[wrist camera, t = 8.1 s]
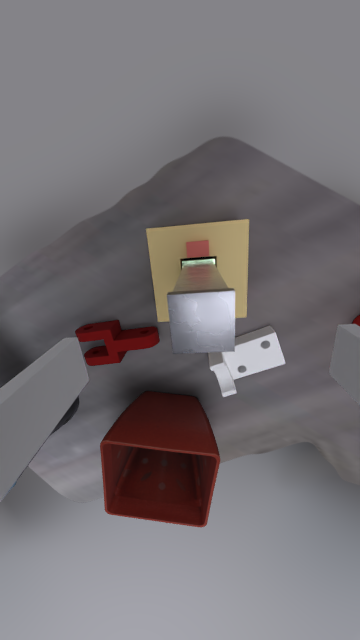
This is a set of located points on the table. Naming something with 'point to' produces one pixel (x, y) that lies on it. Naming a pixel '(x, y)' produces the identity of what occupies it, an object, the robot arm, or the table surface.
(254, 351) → the bracket
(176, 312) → the column
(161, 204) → the table surface
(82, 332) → the mechanical linkage
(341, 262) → the table surface
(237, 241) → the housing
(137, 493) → the plant pot
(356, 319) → the paper cup
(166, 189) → the table surface
